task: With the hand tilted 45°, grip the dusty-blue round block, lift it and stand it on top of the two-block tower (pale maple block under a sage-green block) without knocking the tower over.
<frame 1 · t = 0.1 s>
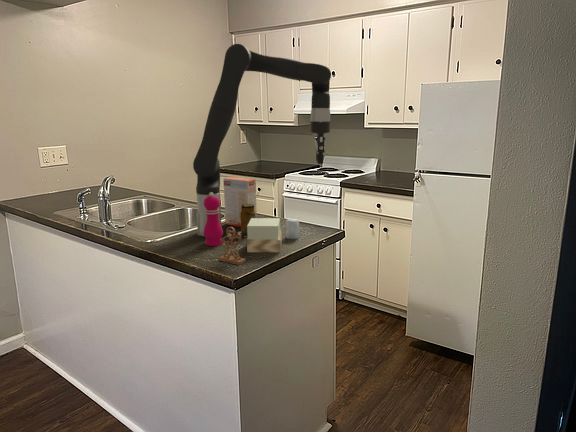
hand: (319, 162, 171), 29 cm above the countertop, tool pointing down, fingers open, 8 cm apart
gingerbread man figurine: (232, 261, 148), on the countertop
maple base block: (265, 247, 163), on the countertop
pepper mill: (214, 244, 167), on the countertop
blue round block: (292, 237, 174), on the countertop
condiment: (249, 234, 179), on the countertop
sage top block: (264, 235, 161), point 5 cm above the countertop
cracker box: (241, 225, 192), on the countertop
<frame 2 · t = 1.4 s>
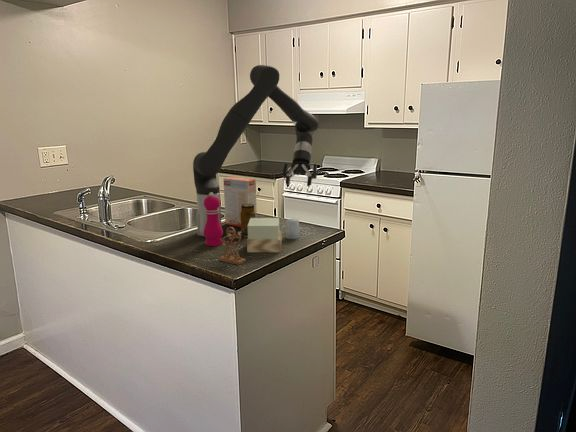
hand: (298, 185, 180), 19 cm above the countertop, tool tilted 45°, fingers open, 8 cm apart
maple base block: (265, 247, 163), on the countertop, touching sage top block
sage top block: (264, 234, 162), point 5 cm above the countertop, touching maple base block
everything else where it was.
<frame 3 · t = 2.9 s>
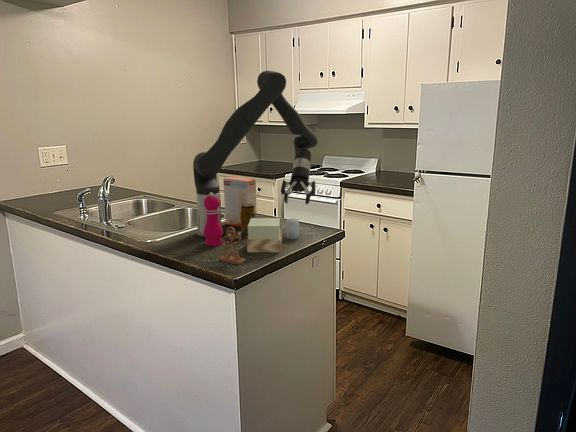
hand: (296, 203, 179), 12 cm above the countertop, tool tilted 45°, fingers open, 8 cm apart
nothing on the countertop moved.
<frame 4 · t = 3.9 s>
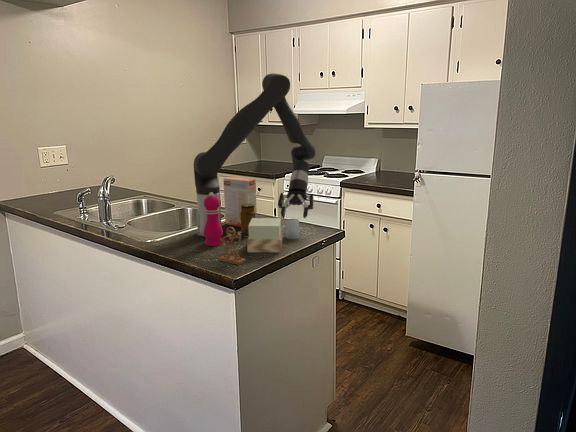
hand: (293, 216, 174), 8 cm above the countertop, tool tilted 45°, fingers open, 8 cm apart
nothing on the countertop moved.
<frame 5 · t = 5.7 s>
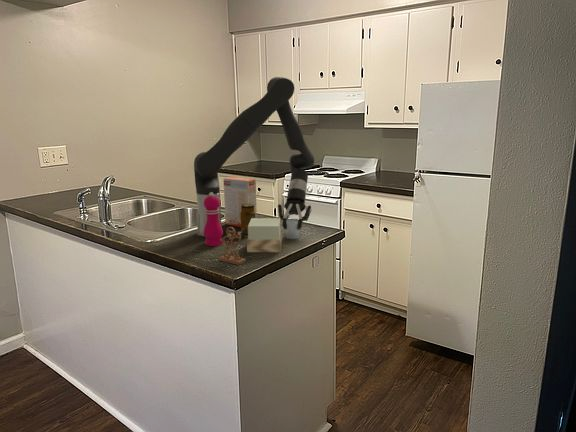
hand: (291, 228, 171), 4 cm above the countertop, tool tilted 45°, fingers closed on blue round block, 5 cm apart
blue round block: (292, 237, 174), on the countertop, touching gripper
everything else where it was.
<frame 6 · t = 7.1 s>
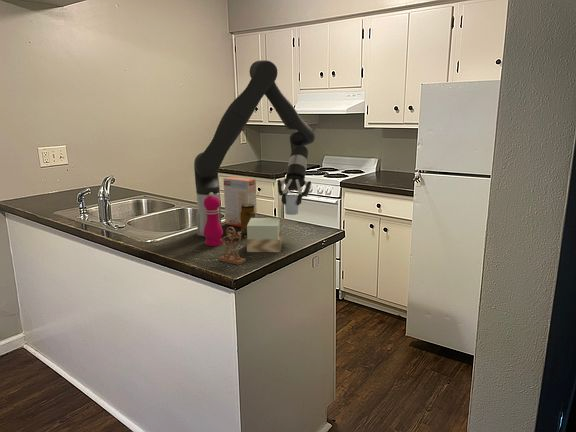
hand: (291, 203, 169), 14 cm above the countertop, tool tilted 45°, fingers closed on blue round block, 5 cm apart
blue round block: (291, 213, 171), point 10 cm above the countertop, touching gripper
everything else where it was.
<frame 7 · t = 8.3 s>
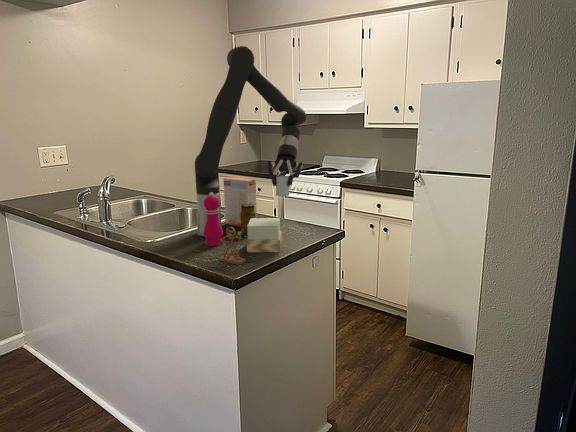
hand: (281, 184, 163), 22 cm above the countertop, tool tilted 45°, fingers closed on blue round block, 5 cm apart
blue round block: (282, 194, 166), point 18 cm above the countertop, touching gripper
everything else where it was.
when the fingers open (15 cm above the countertop, at t = 12.3 s): blue round block drops 1 cm, resting on sage top block.
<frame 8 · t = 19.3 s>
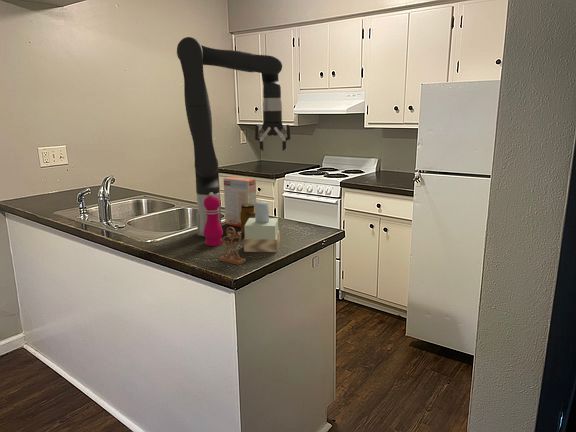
hand: (273, 150, 178), 33 cm above the countertop, tool pointing down, fingers open, 8 cm apart
blue round block: (262, 221, 160), point 10 cm above the countertop, touching sage top block
sage top block: (262, 234, 161), point 5 cm above the countertop, touching blue round block, maple base block
at the end: blue round block inside the target area on the sage top block (0.4 cm from its centre), point 5.0 cm above the sage top block's base; blue round block tilted 1°; sage top block 0.2 cm off-centre on the maple base block, point 5.0 cm above the maple base block's base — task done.
